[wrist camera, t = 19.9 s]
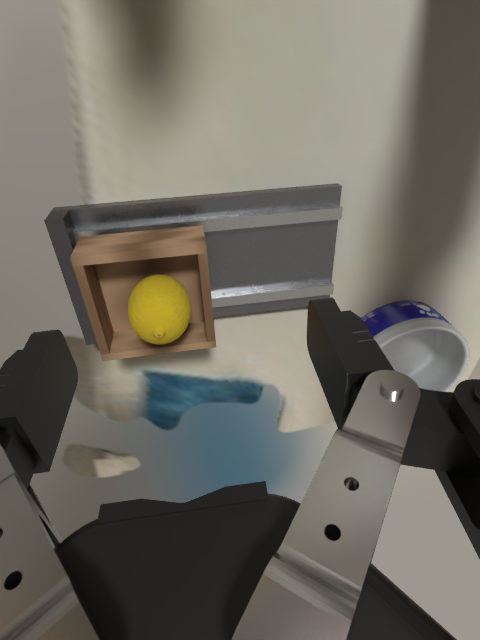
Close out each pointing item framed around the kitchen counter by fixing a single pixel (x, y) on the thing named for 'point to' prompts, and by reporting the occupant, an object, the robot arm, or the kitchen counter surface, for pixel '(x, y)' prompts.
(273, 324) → the kitchen counter surface
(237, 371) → the kitchen counter surface
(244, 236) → the track
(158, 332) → the lemon
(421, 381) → the dog bowl
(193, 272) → the wooden tray box
